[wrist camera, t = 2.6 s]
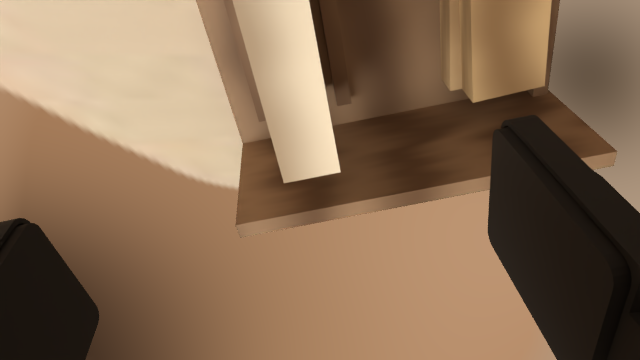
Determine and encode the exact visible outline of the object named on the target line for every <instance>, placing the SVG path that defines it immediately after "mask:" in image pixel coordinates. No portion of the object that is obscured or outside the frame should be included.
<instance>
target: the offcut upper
mask: <svg viewBox="0 0 640 360" xmlns="http://www.w3.org/2000/svg"><path fill="white" fill-rule="evenodd" d="M551 2H552V0H459V12H460V40H461V68H462V90H463V91H464V92H465V93H466V95H467V96H468V97H469V98H470V100H471V101H472V102H473V103H475V102H479V101H483V100H487V99H492V98H496V97H500V96H504V95H509V94H513V93H517V92H521V91H526V90H530V89H534V88H538V87H542V86H545V75H546V63H547V51H548V39H549V26H550V14H551Z"/></svg>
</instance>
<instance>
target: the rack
mask: <svg viewBox="0 0 640 360" xmlns="http://www.w3.org/2000/svg"><path fill="white" fill-rule="evenodd" d="M196 2H197V5H198V8H199V11H200V14H201V17H202V20H203V23H204V26H205V29H206V32H207V35H208V38H209V42H210V45H211V48H212V51H213V54H214V57H215V60H216V63H217V66H218V69H219V72H220V75H221V78H222V81H223V84H224V87H225V90H226V93H227V97H228V100H229V103H230V106H231V109H232V112H233V115H234V118H235V121H236V124H237V127H238V130H239V133H240V136H241V139H242V142H243V148H242V159H241V171H240V182H239V193H238V194H239V195H238V204H237V205H238V206H237V217H236V227H237V230H238V233H239V235H240V237H246V236H251V235H256V234H261V233H267V232H272V231H277V230H282V229H287V228H293V227H298V226H303V225H308V224H314V223H319V222H324V221H329V220H334V219H339V218H345V217H350V216H355V215H361V214H366V213H371V212H376V211H381V210H386V209H392V208H397V207H401V206H407V205H412V204H418V203H423V202H428V201H433V200H438V199H443V198H449V197H454V196H459V195H465V194H469V193H474V192H480V191H485V190H490V177H491V158H492V138H493V132H494V131H495V130H496V129H501V125H502V123H503V121H505V120H508V119H513V118H518V117H523V116H528V115H536V116H538V117H539V118H540V119H541V120H542V121H543V122H544V123H545V124H546V125H547V126H548V127H549V128H550V129H551V130H552V131H553V132H554V133H555V134H556V135H557V136H558V137H559V138H560V139H561V140H562V141H563V142H564V143H565V144H566V145H568V146H569V147H570V148H571V149H572V150H573V151H574V152H575V153H576V154H577V155H578V156H579V157H580V158H581V159H582V160H583V161H584V162H585V163H586V164H587V165H588V166H589V167H590V168H591V169H592V170H595V169H599V168H605V167H610V166H614V162H615V159H616V155H617V151H616V150H615V149H614V148H613V147H612V146H611V145H609V144H608V143H607V142H606V141H605V140H604V139H603V138H601V137H600V136H599V135H598V134H597V133H596V132H595V131H594V130H593V129H591V128H590V127H589V126H588V125H587V124H586V123H585V122H584V121H582V120H581V119H580V118H579V117H578V116H577V115H576V114H575V113H573V112H572V111H571V110H570V109H569V108H568V107H567V106H566V105H564V104H563V103H562V102H561V101H560V100H559V99H558V98H557V97H555V96H554V95H553V94H552V93H551V92H550V91H549V90H548V85H549V77H550V71H551V63H552V55H553V48H554V41H555V33H556V25H557V18H558V10H559V3H560V0H552V2H551V14H550V26H549V39H548V51H547V63H546V75H545V86H542V87H538V88H534V89H530V90H526V91H521V92H517V93H513V94H509V95H504V96H500V97H496V98H492V99H487V100H483V101H479V102H475V103H473V102H472V101H471V100H470V98H469V97H468V96H467V95H466V93H465V92H464V91H463V90H462V89H458V90H453V91H450V90H449V89H448V87H447V86H446V85H445V83H444V82H443V81H442V79H441V45H440V0H309V3H310V9H311V14H312V20H313V25H314V31H315V36H316V41H317V47H318V52H319V58H320V63H321V68H322V74H323V79H324V85H325V90H326V95H327V101H328V106H329V112H330V117H331V123H332V128H333V133H334V139H335V144H336V150H337V155H338V160H339V166H340V171H341V172H339V173H334V174H329V175H324V176H319V177H314V178H309V179H304V180H299V181H293V182H288V183H284V182H283V178H282V175H281V171H280V168H279V164H278V161H277V157H276V153H275V150H274V146H273V143H272V139H271V136H270V132H269V129H268V125H267V121H266V118H265V114H264V111H263V107H262V104H261V100H260V97H259V93H258V89H257V86H256V82H255V79H254V75H253V72H252V68H251V65H250V61H249V58H248V54H247V50H246V47H245V43H244V40H243V36H242V33H241V29H240V26H239V22H238V18H237V15H236V11H235V8H234V4H233V1H232V0H196Z"/></svg>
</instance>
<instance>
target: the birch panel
mask: <svg viewBox="0 0 640 360" xmlns="http://www.w3.org/2000/svg"><path fill="white" fill-rule="evenodd" d="M232 1H233V4H234V8H235V11H236V15H237V18H238V22H239V26H240V29H241V33H242V36H243V40H244V43H245V47H246V50H247V54H248V58H249V61H250V65H251V68H252V72H253V75H254V79H255V82H256V86H257V89H258V93H259V97H260V100H261V104H262V107H263V111H264V114H265V118H266V121H267V125H268V129H269V132H270V136H271V139H272V143H273V146H274V150H275V153H276V157H277V161H278V164H279V168H280V171H281V175H282V178H283V182H284V183H288V182H293V181H299V180H304V179H309V178H314V177H319V176H324V175H329V174H334V173H339V172H341V171H340V166H339V160H338V155H337V150H336V144H335V139H334V133H333V128H332V123H331V117H330V112H329V106H328V101H327V95H326V90H325V85H324V79H323V74H322V68H321V63H320V58H319V52H318V47H317V41H316V36H315V31H314V25H313V20H312V14H311V9H310V3H309V0H232Z"/></svg>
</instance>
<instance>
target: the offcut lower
mask: <svg viewBox="0 0 640 360" xmlns="http://www.w3.org/2000/svg"><path fill="white" fill-rule="evenodd" d="M440 45H441V79H442V81H443V82H444V83H445V85H446V86H447V87H448V89H449V90H450V91H453V90H458V89H462V68H461V40H460V12H459V0H440Z"/></svg>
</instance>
